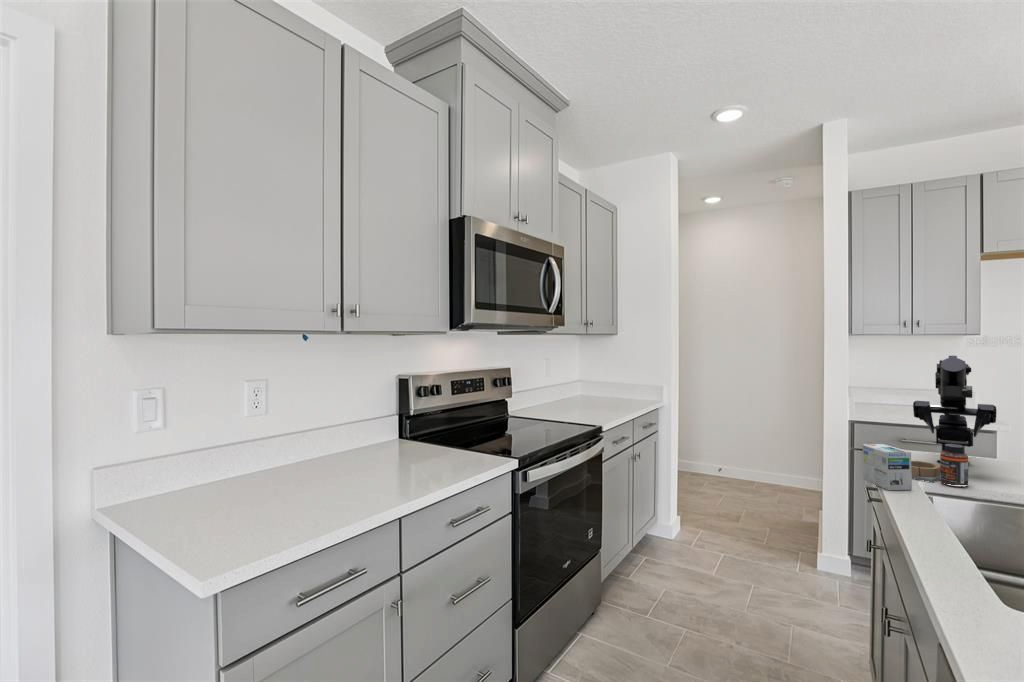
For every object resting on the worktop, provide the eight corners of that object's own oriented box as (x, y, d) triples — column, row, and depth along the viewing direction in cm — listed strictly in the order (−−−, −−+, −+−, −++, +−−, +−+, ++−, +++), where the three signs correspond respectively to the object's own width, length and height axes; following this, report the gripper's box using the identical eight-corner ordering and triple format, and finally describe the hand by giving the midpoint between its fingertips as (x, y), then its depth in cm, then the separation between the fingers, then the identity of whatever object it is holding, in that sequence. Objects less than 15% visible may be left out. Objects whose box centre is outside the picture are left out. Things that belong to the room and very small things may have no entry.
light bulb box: (913, 490, 138) (912, 451, 137) (888, 491, 138) (887, 452, 138) (885, 479, 148) (884, 443, 148) (862, 479, 148) (861, 443, 148)
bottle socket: (908, 469, 157) (908, 458, 157) (947, 477, 148) (947, 465, 148) (892, 474, 152) (891, 463, 152) (931, 482, 143) (931, 470, 143)
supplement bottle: (935, 483, 143) (934, 444, 143) (948, 480, 145) (947, 441, 145) (960, 489, 137) (960, 448, 137) (973, 486, 140) (972, 446, 140)
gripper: (913, 375, 157) (911, 414, 149) (995, 377, 144) (998, 420, 136) (914, 397, 163) (913, 436, 155) (994, 401, 150) (997, 444, 142)
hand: (953, 434), depth 147 cm, fingers open, 9 cm apart
